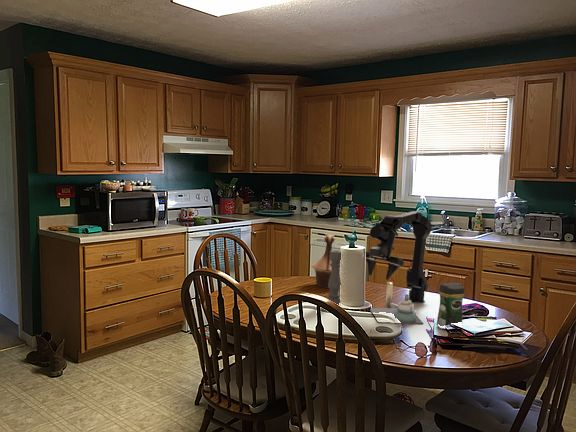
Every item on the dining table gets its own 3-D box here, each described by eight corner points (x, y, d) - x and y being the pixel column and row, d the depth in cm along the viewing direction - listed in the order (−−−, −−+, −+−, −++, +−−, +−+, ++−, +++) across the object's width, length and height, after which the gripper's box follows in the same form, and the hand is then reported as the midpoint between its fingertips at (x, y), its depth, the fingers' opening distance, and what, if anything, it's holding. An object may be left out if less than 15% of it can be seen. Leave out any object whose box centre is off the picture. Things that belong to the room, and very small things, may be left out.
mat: (410, 310, 223) (411, 309, 223) (423, 324, 204) (423, 322, 204) (369, 309, 223) (369, 307, 223) (377, 322, 204) (377, 321, 204)
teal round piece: (412, 317, 213) (413, 309, 213) (418, 324, 204) (419, 315, 204) (391, 316, 213) (392, 308, 213) (396, 323, 204) (397, 314, 204)
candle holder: (331, 307, 224) (334, 252, 221) (324, 303, 229) (327, 250, 226) (343, 305, 227) (345, 252, 224) (335, 302, 232) (338, 249, 229)
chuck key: (416, 314, 207) (418, 288, 206) (405, 316, 204) (407, 290, 203) (391, 305, 219) (393, 281, 218) (381, 307, 216) (382, 282, 215)
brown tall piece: (343, 290, 254) (346, 237, 251) (310, 289, 254) (313, 235, 251) (340, 282, 271) (343, 232, 268) (309, 281, 271) (312, 231, 269)
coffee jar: (452, 324, 206) (456, 280, 204) (465, 330, 199) (468, 285, 197) (433, 325, 203) (436, 281, 201) (444, 332, 196) (448, 286, 194)
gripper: (359, 236, 220) (350, 270, 219) (394, 242, 207) (385, 278, 205) (373, 241, 228) (365, 274, 226) (408, 248, 214) (399, 283, 213)
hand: (378, 277), depth 217 cm, fingers open, 9 cm apart
